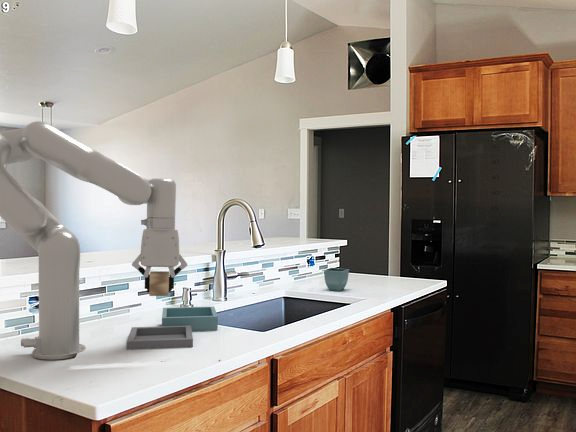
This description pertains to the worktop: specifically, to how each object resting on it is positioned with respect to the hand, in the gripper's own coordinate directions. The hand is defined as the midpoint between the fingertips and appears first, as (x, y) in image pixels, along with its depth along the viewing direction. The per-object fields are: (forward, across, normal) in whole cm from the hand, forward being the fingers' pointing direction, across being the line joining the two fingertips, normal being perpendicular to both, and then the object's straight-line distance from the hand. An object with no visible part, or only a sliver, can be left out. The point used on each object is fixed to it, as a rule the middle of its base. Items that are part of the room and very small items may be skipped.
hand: (159, 290), depth 157 cm
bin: (+15, +1, 0) cm, 15 cm away
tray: (+14, +9, +18) cm, 25 cm away
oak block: (+1, 0, 0) cm, 1 cm away
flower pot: (+13, +74, +84) cm, 113 cm away
